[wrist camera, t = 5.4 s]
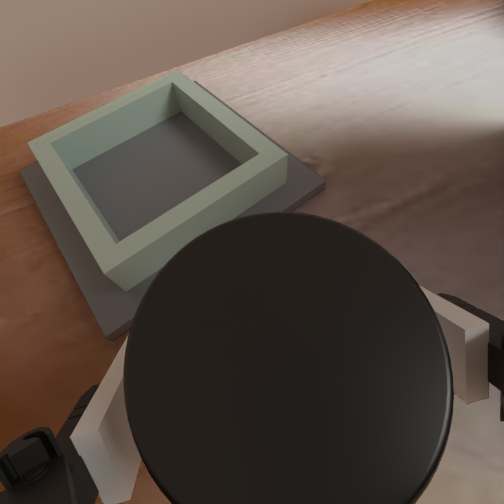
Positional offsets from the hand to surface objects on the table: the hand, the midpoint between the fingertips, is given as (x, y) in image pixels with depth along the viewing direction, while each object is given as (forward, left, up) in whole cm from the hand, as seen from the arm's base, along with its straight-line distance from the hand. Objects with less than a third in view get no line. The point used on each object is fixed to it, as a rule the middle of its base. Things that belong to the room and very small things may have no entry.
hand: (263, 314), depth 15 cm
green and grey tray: (-2, -16, -5) cm, 17 cm away
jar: (+1, +3, -5) cm, 6 cm away
